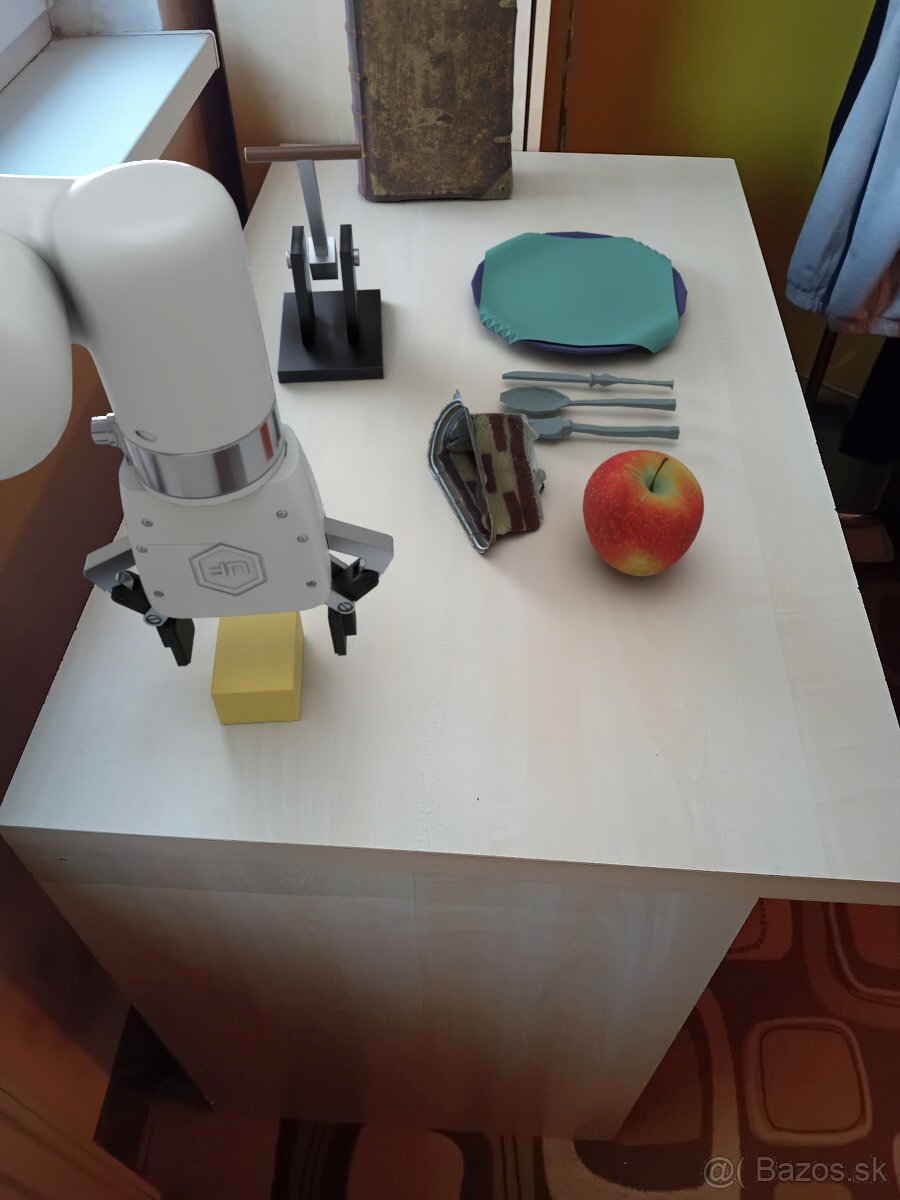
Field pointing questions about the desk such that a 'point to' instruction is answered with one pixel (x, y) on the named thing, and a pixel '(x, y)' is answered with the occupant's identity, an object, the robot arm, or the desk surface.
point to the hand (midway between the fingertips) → (264, 642)
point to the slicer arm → (311, 196)
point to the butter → (258, 668)
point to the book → (432, 97)
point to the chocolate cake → (487, 471)
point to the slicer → (329, 321)
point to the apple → (642, 511)
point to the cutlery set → (580, 316)
